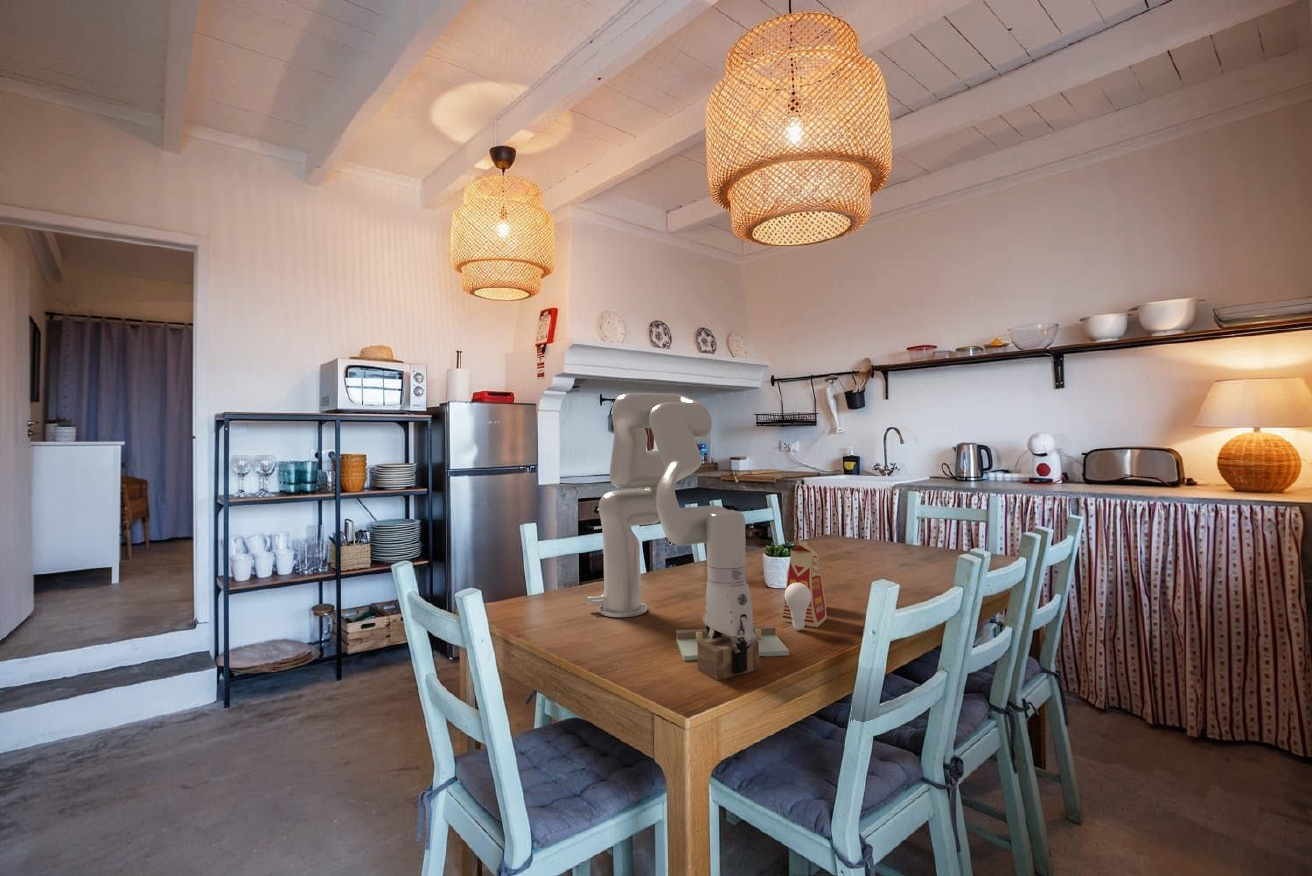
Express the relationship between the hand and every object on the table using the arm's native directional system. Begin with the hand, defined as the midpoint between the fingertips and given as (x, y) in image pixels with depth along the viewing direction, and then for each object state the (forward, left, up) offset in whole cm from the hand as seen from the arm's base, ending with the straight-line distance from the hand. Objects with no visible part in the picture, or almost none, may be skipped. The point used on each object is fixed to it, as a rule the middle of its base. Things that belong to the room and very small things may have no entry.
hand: (728, 665), depth 122 cm
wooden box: (0, 0, -1) cm, 1 cm away
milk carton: (+25, +30, -1) cm, 39 cm away
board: (+3, +12, -1) cm, 12 cm away
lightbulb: (+21, +22, -1) cm, 30 cm away
